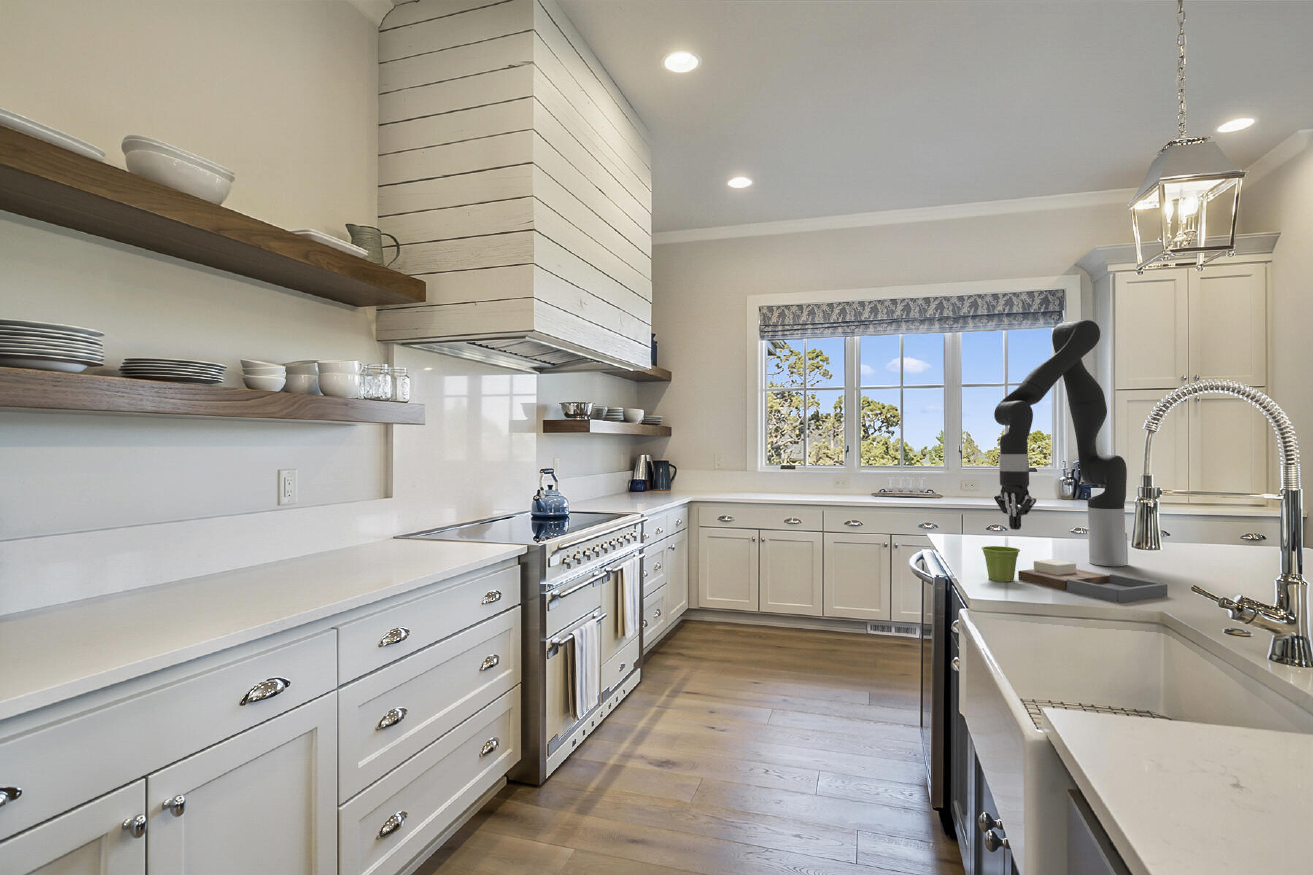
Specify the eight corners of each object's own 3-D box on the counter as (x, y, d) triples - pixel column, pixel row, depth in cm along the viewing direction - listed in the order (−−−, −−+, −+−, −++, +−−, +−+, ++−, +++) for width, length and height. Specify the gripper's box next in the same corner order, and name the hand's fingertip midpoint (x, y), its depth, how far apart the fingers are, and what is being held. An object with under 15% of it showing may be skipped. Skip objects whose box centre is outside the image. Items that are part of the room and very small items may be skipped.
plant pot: (983, 575, 185) (982, 544, 185) (1021, 578, 180) (1020, 547, 180) (980, 581, 177) (980, 549, 177) (1020, 584, 172) (1019, 552, 172)
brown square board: (1061, 575, 183) (1061, 566, 183) (1110, 584, 170) (1110, 575, 170) (1018, 579, 178) (1018, 570, 178) (1065, 590, 164) (1065, 580, 164)
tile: (1052, 568, 180) (1052, 559, 180) (1076, 572, 174) (1076, 563, 174) (1033, 570, 178) (1033, 561, 178) (1056, 574, 172) (1056, 565, 172)
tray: (1112, 585, 169) (1111, 573, 169) (1167, 596, 156) (1167, 584, 156) (1066, 590, 164) (1065, 579, 164) (1120, 603, 151) (1119, 590, 151)
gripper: (1044, 470, 183) (1045, 531, 183) (1005, 468, 195) (1006, 526, 195) (1023, 470, 181) (1025, 532, 180) (985, 469, 193) (986, 527, 193)
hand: (1015, 529), depth 188 cm, fingers closed
